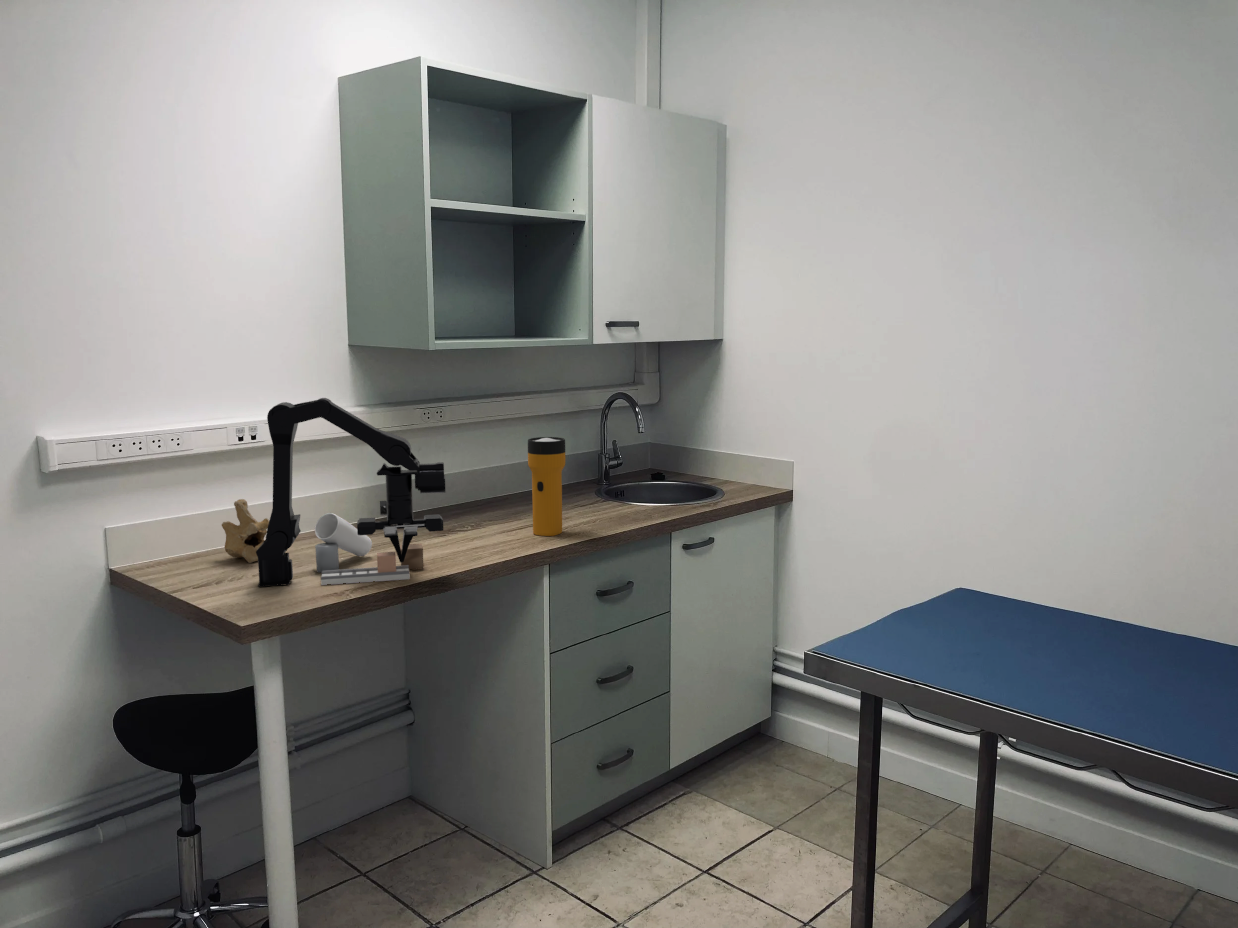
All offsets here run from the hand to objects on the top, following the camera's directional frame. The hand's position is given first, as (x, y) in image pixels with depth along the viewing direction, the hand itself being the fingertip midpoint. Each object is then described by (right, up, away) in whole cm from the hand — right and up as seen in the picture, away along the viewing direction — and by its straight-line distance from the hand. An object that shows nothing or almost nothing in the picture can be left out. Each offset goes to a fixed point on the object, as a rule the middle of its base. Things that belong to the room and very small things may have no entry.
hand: (401, 561), depth 220 cm
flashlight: (+30, +3, +43) cm, 52 cm away
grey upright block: (-18, -3, +6) cm, 20 cm away
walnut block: (+1, -2, +9) cm, 9 cm away
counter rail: (-8, -4, -2) cm, 9 cm away
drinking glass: (-13, +2, +19) cm, 23 cm away
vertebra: (-40, -1, +16) cm, 44 cm away
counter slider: (-3, -2, -1) cm, 4 cm away
